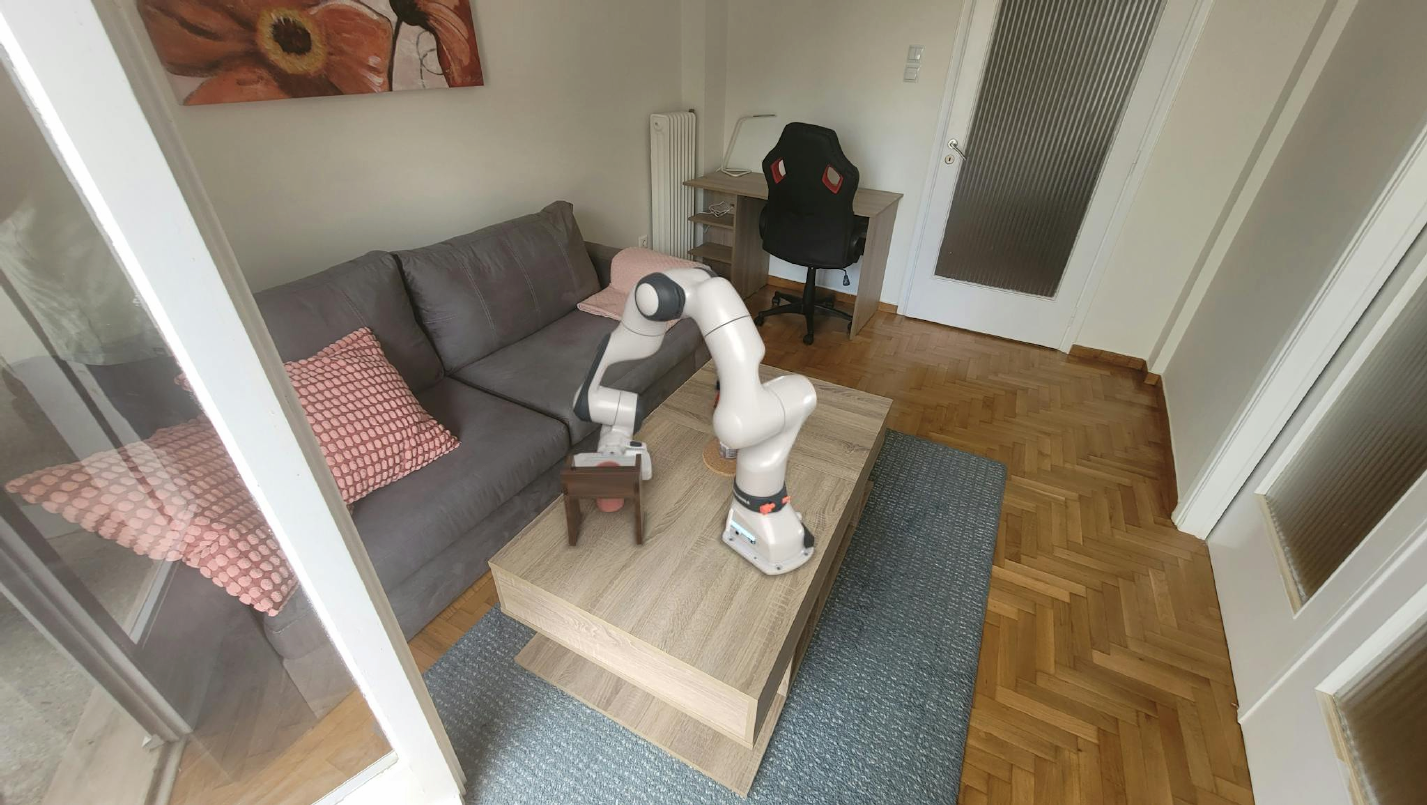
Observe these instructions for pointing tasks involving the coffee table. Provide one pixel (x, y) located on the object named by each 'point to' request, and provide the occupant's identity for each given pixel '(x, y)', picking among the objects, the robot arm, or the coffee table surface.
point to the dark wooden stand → (601, 490)
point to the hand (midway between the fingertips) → (608, 488)
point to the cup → (609, 504)
